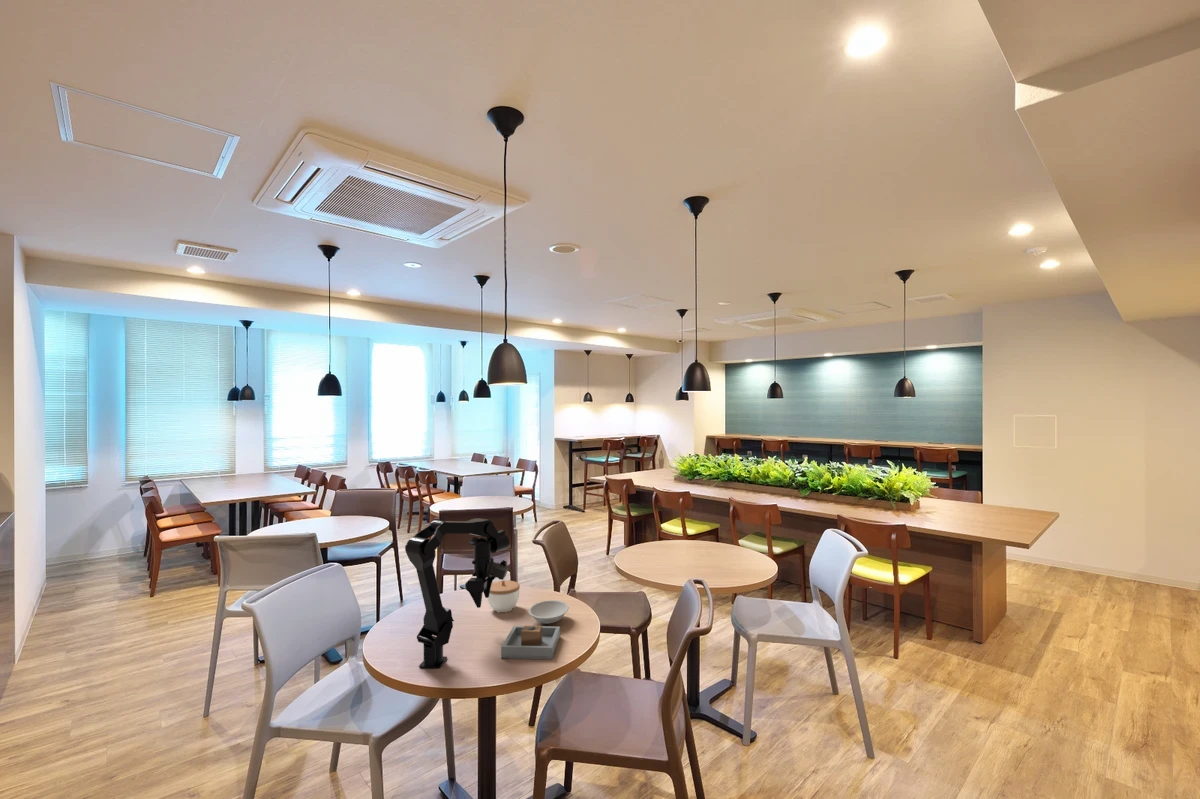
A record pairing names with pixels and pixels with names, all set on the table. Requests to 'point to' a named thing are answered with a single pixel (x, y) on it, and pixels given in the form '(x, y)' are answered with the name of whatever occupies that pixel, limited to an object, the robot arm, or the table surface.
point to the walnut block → (531, 636)
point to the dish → (548, 611)
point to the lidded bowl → (503, 595)
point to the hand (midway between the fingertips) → (483, 602)
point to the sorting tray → (545, 651)
